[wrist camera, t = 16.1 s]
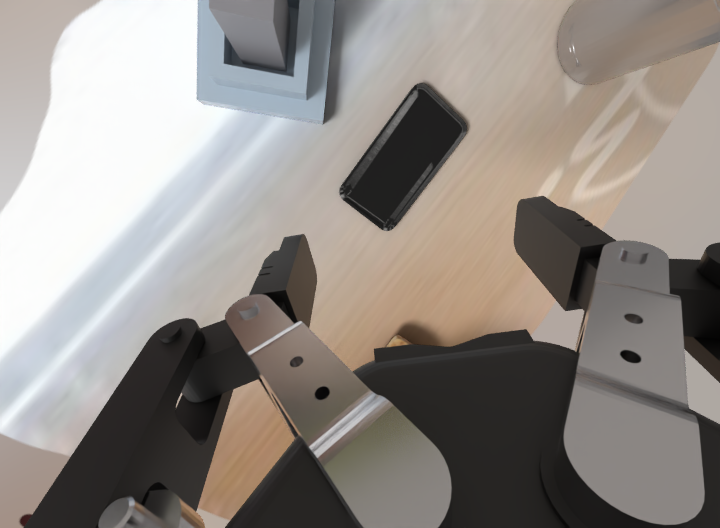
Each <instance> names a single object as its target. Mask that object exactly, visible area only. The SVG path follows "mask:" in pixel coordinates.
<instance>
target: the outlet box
mask: <svg viewBox="0 0 720 528" xmlns="http://www.w3.org/2000/svg"><path fill="white" fill-rule="evenodd" d="M287 1H288V8H289V14H290V32H289V45H288V58H287V71H286V72H283V71H278V70H273V69H268V68H263V67H258V66H253V65H248V64H243V62H242V61H241V59H240V58H239V56H238V54H237V53H236V51H235V50H234V48H233V46H232V45H231V43H230V41H229V40H228V38H227V37H226V35H225V33H224V32H223V30H222V29H221V27H220V25H219V24H218V22H217V20H216V19H215V17H214V16H213V14H212V12H211V11H210V9H209V0H198V36H197V100H198V101H200V102H201V103H203V104H204V105H210V106H216V107H222V108H228V109H234V110H240V111H246V112H252V113H258V114H264V115H270V116H276V117H282V118H288V119H294V120H300V121H306V122H312V123H318V124H323V118H324V108H325V97H326V87H327V77H328V67H329V57H330V47H331V37H332V27H333V17H334V7H335V0H287Z"/></svg>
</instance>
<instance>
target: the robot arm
mask: <svg viewBox="0 0 720 528" xmlns="http://www.w3.org/2000/svg"><path fill="white" fill-rule="evenodd" d="M717 42H720V0H576V1H575V2H574V3H573V4H572V5H571V7H570V8H569V9H568V11H567V13H566V14H565V16H564V18H563V20H562V23H561V25H560V29H559V33H558V42H557V48H558V56H559V59H560V63H561V65H562V67H563V69H564V71H565V72H566V73H567V74H568V76H569V77H570V78H572V79H573V80H575V81H576V82H579V83H581V84H588V85H592V84H597V83H601V82H604V81H607V80H609V79H612V78H615V77H618V76H621V75H624V74H627V73H630V72H633V71H636V70H639V69H642V68H645V67H648V66H651V65H653V64H656V63H659V62H662V61H665V60H668V59H671V58H674V57H677V56H679V55H682V54H685V53H688V52H691V51H694V50H697V49H700V48H703V47H706V46H708V45H711V44H714V43H717ZM514 246H515V249H516V252H517V253H518V255H519V256H520V257H521V258H522V260H523V261H524V262H525V263H526V264H527V266H528V267H529V268H530V269H531V270H532V272H533V273H534V274H535V275H536V276H537V278H538V279H539V280H540V281H541V282H542V284H543V285H544V286H545V287H546V288H547V290H548V291H549V292H550V293H551V294H552V296H553V297H554V298H555V299H556V301H557V302H558V303H559V304H560V305H561V307H562V308H563V309H564V310H565V311H569V310H576V309H583V310H584V311H585V312H584V315H583V319H582V323H581V327H580V331H579V335H578V339H577V343H576V348H575V351H574V350H571V349H569V348H566V347H562V346H560V345H556V344H551V343H547V342H540V341H533V339H532V337H531V336H530V334H529V333H528V331H527V330H526V329H525V330H517V331H509V332H501V333H494V334H487V335H484V336H481V337H479V338H476V339H473V340H470V341H467V342H464V343H462V344H459V345H456V346H452V347H442V346H429V345H415V344H408V345H400V346H392V347H385V348H377V349H374V355H375V360H374V361H372V362H369V363H367V364H365V365H363V366H361V367H359V368H357V369H356V370H354V371H353V372H352V371H351V370H350V369H349V368H348V367H347V366H346V365H345V364H344V363H343V362H342V361H341V360H340V359H339V358H338V357H337V356H336V355H335V354H334V353H333V352H332V351H331V350H330V349H329V348H328V347H327V346H326V345H325V344H324V343H323V342H322V341H321V340H320V339H319V338H318V337H317V336H316V335H315V334H314V333H313V332H312V331H311V330H310V329H309V326H310V320H311V314H312V308H313V302H314V296H315V291H316V285H317V274H316V269H315V265H314V262H313V258H312V255H311V252H310V248H309V245H308V242H307V239H306V237H305V235H304V234H301V235H295V236H289V237H285V238H284V239H283V242H282V245H281V247H280V250H279V251H273V252H272V253H271V254H270V255H269V256H268V257H267V258H266V259H265V261H264V263H263V265H262V267H261V268H262V269H261V270H260V272H259V274H258V275H259V276H257V279H256V281H255V283H254V285H253V288H252V290H251V292H250V294H249V296H247V297H244V298H242V299H240V300H238V301H237V302H235V303H234V304H233V305H232V306H231V307H230V308H229V309H228V310H227V312H226V314H225V320H223V321H220V322H217V323H215V324H212V325H209V326H206V327H203V328H201V329H200V328H199V326H198V324H197V323H196V321H195V320H193V319H189V318H185V319H179V320H176V321H173V322H171V323H169V324H167V325H165V326H163V327H162V328H160V329H159V330H157V331H156V332H155V333H154V334H153V335H152V336H151V337H150V339H149V340H148V342H147V343H146V345H145V346H144V348H143V349H142V351H141V352H140V354H139V355H138V357H137V358H136V360H135V361H134V363H133V364H132V366H131V367H130V369H129V370H128V372H127V373H126V375H125V376H124V378H123V379H122V381H121V382H120V384H119V385H118V387H117V388H116V390H115V391H114V393H113V394H112V396H111V397H110V399H109V400H108V402H107V403H106V405H105V406H104V408H103V409H102V411H101V412H100V414H99V415H98V417H97V418H96V420H95V421H94V423H93V424H92V426H91V427H90V429H89V430H88V432H87V433H86V435H85V436H84V438H83V439H82V441H81V442H80V444H79V445H78V447H77V448H76V450H75V451H74V453H73V454H72V456H71V457H70V459H69V461H68V462H67V464H66V465H65V466H64V468H63V469H62V471H61V473H60V474H59V475H58V477H57V479H56V480H55V482H54V483H53V485H52V486H51V488H50V489H49V491H48V492H47V494H46V495H45V497H44V498H43V500H42V501H41V503H40V504H39V506H38V508H37V509H36V510H35V512H34V513H33V515H32V516H31V518H30V519H29V521H28V522H27V524H26V525H25V527H24V528H205V526H204V522H203V519H202V518H201V516H200V515H198V513H196V510H197V507H198V504H199V501H200V497H201V494H202V491H203V488H204V484H205V481H206V478H207V474H208V471H209V468H210V465H211V461H212V458H213V455H214V451H215V448H216V445H217V442H218V438H219V435H220V432H221V428H222V425H223V422H224V419H225V415H226V412H227V409H228V405H229V402H230V399H231V396H232V392H233V389H235V388H238V387H240V386H242V385H245V384H247V383H250V382H252V381H255V380H257V379H258V380H259V382H260V384H261V385H262V387H263V388H264V390H265V392H266V393H267V395H268V397H269V398H270V400H271V401H272V403H273V405H274V406H275V408H276V409H277V411H278V413H279V414H280V416H281V418H282V419H283V421H284V423H285V424H286V426H287V428H288V430H289V431H290V433H291V435H292V436H293V438H294V441H293V442H292V444H291V445H290V446H289V447H288V449H287V450H286V451H285V452H284V454H283V455H282V456H281V457H280V459H279V460H278V461H277V463H276V464H275V465H274V466H273V468H272V469H271V470H270V471H269V473H268V474H267V475H266V476H265V478H264V479H263V480H262V481H261V483H260V484H259V485H258V486H257V488H256V489H255V490H254V491H253V493H252V494H251V495H250V497H249V498H248V499H247V500H246V502H245V503H244V504H243V505H242V507H241V508H240V509H239V510H238V512H237V513H236V514H235V515H234V517H233V518H232V519H231V520H230V522H229V523H228V524H227V526H226V527H225V528H720V424H718V423H716V422H714V421H712V420H710V419H708V418H706V417H704V416H702V415H700V414H698V413H696V412H695V411H693V410H691V409H689V407H688V398H687V384H686V367H685V354H684V349H685V350H686V351H687V352H688V353H689V354H690V355H691V356H692V357H693V358H695V359H696V360H697V361H698V362H699V363H700V364H701V365H702V366H703V367H704V368H705V369H706V370H707V371H708V372H709V373H710V374H711V375H712V376H713V377H714V378H715V379H716V380H717V381H719V383H720V243H715V244H711V245H709V246H708V247H707V248H706V250H705V252H704V254H703V256H702V258H701V260H690V259H669V258H668V255H667V254H666V253H665V252H664V251H663V250H661V249H659V248H657V247H655V246H653V245H650V244H646V243H643V242H637V241H625V240H624V241H616V240H615V239H613V238H612V237H610V236H609V235H607V234H606V233H605V232H603V231H602V230H600V229H599V228H597V227H596V226H593V224H592V223H590V222H589V221H587V220H585V218H583V217H582V216H580V215H579V214H577V213H576V212H574V211H572V210H569V209H566V208H563V207H558V206H557V205H556V204H554V203H553V202H551V201H550V200H549V199H547V198H546V197H544V196H539V197H533V198H527V199H521V200H520V201H519V202H518V205H517V213H516V222H515V232H514ZM181 393H182V394H183V395H182V397H181V399H180V401H179V403H178V406H177V408H176V403H177V400H178V398H179V396H180V394H181Z"/></svg>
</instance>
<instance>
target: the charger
mask: <svg viewBox="0 0 720 528" xmlns="http://www.w3.org/2000/svg"><path fill="white" fill-rule="evenodd" d="M209 9H210V11H211V12H212V14H213V16H214V17H215V19H216V20H217V22H218V24H219V25H220V27H221V29H222V30H223V32H224V33H225V35H226V37H227V38H228V40H229V41H230V43H231V45H232V46H233V48H234V50H235V51H236V53H237V54H238V56H239V58H240V59H241V61H242V62H243V64H248V65H253V66H258V67H263V68H268V69H273V70H278V71H283V72H286V71H287V58H288V45H289V32H290V14H289V8H288V1H287V0H209Z"/></svg>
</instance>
